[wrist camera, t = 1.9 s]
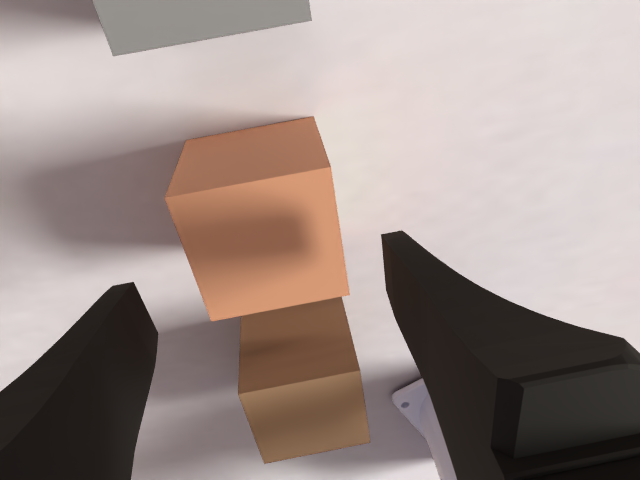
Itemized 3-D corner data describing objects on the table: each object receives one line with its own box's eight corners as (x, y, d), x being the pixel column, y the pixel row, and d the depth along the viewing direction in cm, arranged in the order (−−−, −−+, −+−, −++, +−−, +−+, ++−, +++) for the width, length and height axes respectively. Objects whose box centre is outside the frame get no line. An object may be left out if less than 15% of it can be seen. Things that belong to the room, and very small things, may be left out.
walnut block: (351, 361, 25) (370, 442, 21) (262, 378, 25) (264, 463, 21) (340, 292, 23) (360, 370, 18) (241, 311, 23) (238, 394, 18)
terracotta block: (330, 224, 20) (349, 294, 16) (220, 245, 20) (211, 321, 16) (313, 116, 18) (330, 166, 14) (186, 139, 18) (164, 197, 13)
